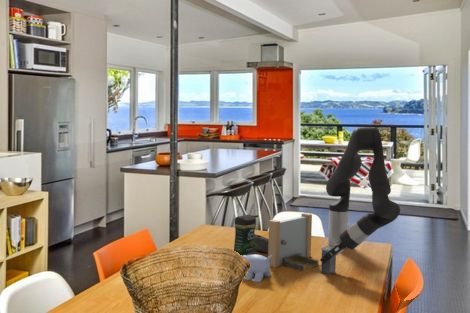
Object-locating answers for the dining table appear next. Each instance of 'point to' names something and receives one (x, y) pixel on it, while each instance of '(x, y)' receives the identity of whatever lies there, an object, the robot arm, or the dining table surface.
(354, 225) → the robot arm
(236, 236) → the coffee jar
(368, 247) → the dining table surface
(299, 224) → the door
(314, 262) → the keeper
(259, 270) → the hippopotamus toy
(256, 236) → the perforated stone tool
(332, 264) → the bar
